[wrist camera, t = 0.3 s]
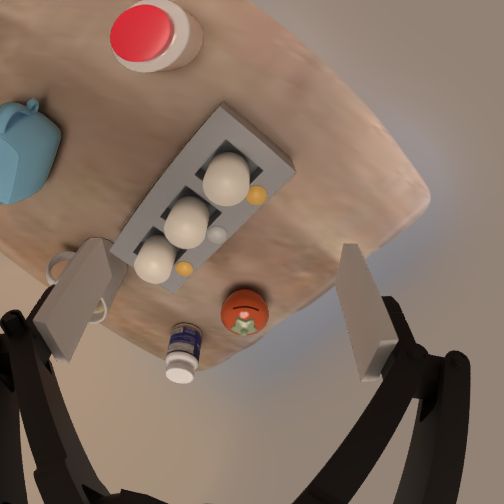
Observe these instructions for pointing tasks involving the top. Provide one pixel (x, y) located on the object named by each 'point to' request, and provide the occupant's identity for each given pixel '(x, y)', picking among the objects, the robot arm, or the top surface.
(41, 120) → the teapot
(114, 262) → the mug
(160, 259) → the button
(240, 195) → the button
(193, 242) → the button middle
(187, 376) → the pill bottle
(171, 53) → the pill bottle
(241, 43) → the top surface
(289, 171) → the console
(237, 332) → the tomato
